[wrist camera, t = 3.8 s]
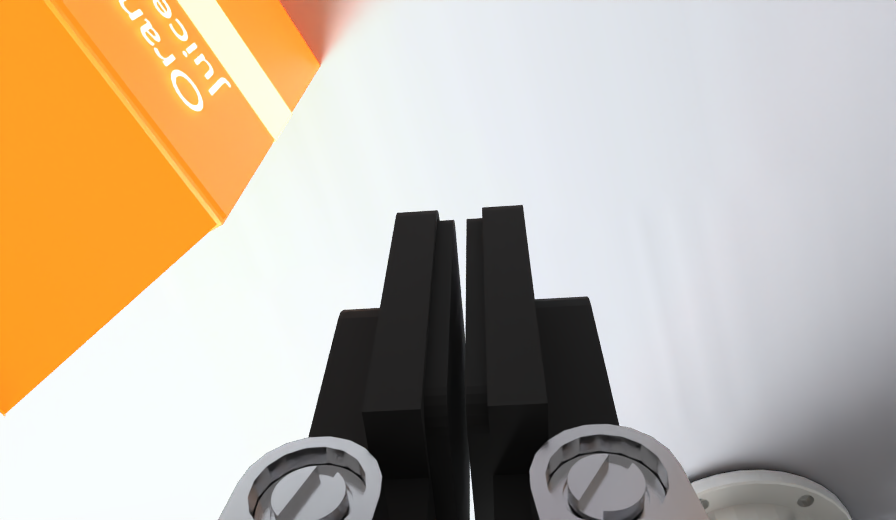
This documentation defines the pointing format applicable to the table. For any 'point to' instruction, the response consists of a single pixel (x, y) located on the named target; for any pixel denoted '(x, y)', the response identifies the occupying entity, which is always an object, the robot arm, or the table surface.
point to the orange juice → (124, 152)
